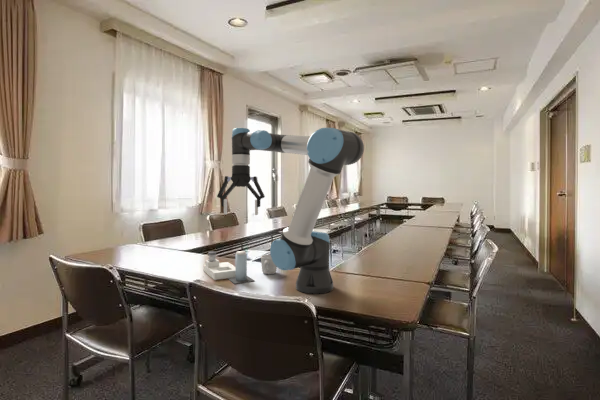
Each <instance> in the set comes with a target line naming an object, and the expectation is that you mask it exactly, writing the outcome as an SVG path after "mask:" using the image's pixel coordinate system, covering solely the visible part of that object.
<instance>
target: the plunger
mask: <svg viewBox="0 0 600 400" xmlns="http://www.w3.org/2000/svg"><path fill="white" fill-rule="evenodd" d="M207 255H208V260H209V262H212V261H216V259H217V258H216V255H217V252H216V251H208V253H207Z"/></svg>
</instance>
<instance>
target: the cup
mask: <svg viewBox="0 0 600 400" xmlns="http://www.w3.org/2000/svg"><path fill="white" fill-rule="evenodd" d="M260 263H261V272H262V273H263V274H264V275H273V274H276V272H277V269H278V267H277V266H276V265H275V264H274V263H273V261H272V257H271V254H263V255H261V256H260Z"/></svg>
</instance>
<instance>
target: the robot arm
mask: <svg viewBox="0 0 600 400" xmlns="http://www.w3.org/2000/svg"><path fill="white" fill-rule="evenodd" d="M364 144H365V143H364V141H363V139H362V138H361V136H359V135H358V134H357V133H355V132H354V131H353V132H352V131H348V130H343V129H339V128H336V127H335V128H334V127H322V128H319V129H317V130H315V131H314V132H313V133H312V134H311V136H309V135H308V136H307V135H293V134H292V135H291V134H290V135H289V134H277V133H271V132H268V131H267V130H261V129H260V130H259V129H257V130H254V131H250V129H249V128H247V127H236V128H235V127H234V128H233V129H232V133H231V176H229V175H228V176H227V175H225V176H224V179H223V182H222V185H221V187H220V189H219V191H218V192H217V195H216V196H217V198H218V199H221V207H223V215H228V199H227V197H228V196H229V195H230V194H231V192H232V191H233V190H234V189H235V187H239V188H240V187H242V188H245V187H246V188H247V189H248V190H249V191H250V192H251V194H252V195H253V196H254V197H255V198H256V199H255V200H254V215H255V216H257V215H259V208H260V207H261V200H262V199H264V198H265V197H266V196H265V194H264V192H263V190H262V187H261V186H260V184H259V180H258V176H251V166H250V161H251V154H250V153H251V151H264V152H266V151H267V152H274V153H282V154H294V155H304V156H308V161H307V163H308V164H309V165H308V166H309V167H310V168H309V171H308V174H307V176H306V180H305V183H304V185H303V188H302V191H301V192H300V196H299V198H298V201H297V204H296V207H295V209H294V212H293V214H292V217H291V220H290V223H289V226H288V227H284V229H283V230H282V233H281V236H280V238H276V239H274V240H273V241H272V242H271V244H270V248H269V249H270V251H269V253H270V254H269V255H271V257H272V261H273V263H274V264H275V265H276V266H277V269H279V270H282V271H292V270H294V269H298V268H300V269H299V272H298V274H297V278H296V282H295V289H296V290H297V291H298V292H301V293H305V294H312V293H313V294H316V295H317V294H318V295H319V293H320V294H325V292H327V293H329V292H328V291H330V292H331V290H332V289H333V290H334V282H333V277H332V275H331V271H330V244H331V242H330V234H328V233H327V232H321V231H314V228H315V225H316V223H317V221H318V219H319V216H320V213H321V211H322V208H323V206H324V202H325V200H326V198H327V196H328V193H329V191H330V187H331V186H332V183H333V181H334V178H335V177H336V176H338V175H340V174H341V172H342V170H343V168H344V166H350V165H353V164H356V163H357V162H359V161H360V160H361V158H362V157H363V155H364V151H365V145H364ZM231 181H232V183H231V184H230V186H229V187H228V184H229V182H231ZM250 181H252V182H253V183H254V185H255V187H256V189H257V191H256V190H255V189H254V187H252V185H251V184H250ZM227 187H228V189H227V190H226V188H227ZM225 190H226V191H225ZM333 290H332V291H333Z"/></svg>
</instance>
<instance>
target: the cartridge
mask: <svg viewBox="0 0 600 400" xmlns="http://www.w3.org/2000/svg"><path fill="white" fill-rule="evenodd" d="M247 255H248V254H247V252H246V251H244V250H241V251H239V250H238V251H236V253H235V267H236V280H237V281H244V280H247V276H248V274H247V273H248V271H247V270H248V269H247V268H248V267H247V266H248V263H247V262H248V259H247V258H248V256H247Z"/></svg>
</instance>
